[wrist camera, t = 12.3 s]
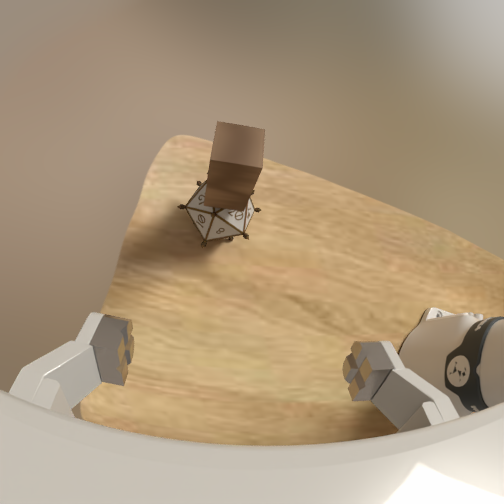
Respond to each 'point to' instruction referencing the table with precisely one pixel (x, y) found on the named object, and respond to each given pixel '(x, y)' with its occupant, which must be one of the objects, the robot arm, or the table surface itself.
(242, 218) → the game die
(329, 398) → the table surface
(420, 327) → the robot arm
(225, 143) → the walnut block
